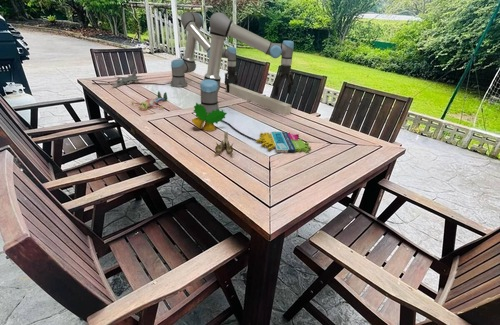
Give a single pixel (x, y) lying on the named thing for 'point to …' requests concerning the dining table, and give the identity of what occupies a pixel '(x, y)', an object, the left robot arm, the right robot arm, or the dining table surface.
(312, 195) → the dining table surface
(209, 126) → the ornament
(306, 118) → the dining table surface
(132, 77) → the airplane
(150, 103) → the toy
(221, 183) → the dining table surface
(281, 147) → the sign
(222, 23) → the right robot arm
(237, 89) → the post
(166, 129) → the dining table surface
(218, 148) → the jawbone
